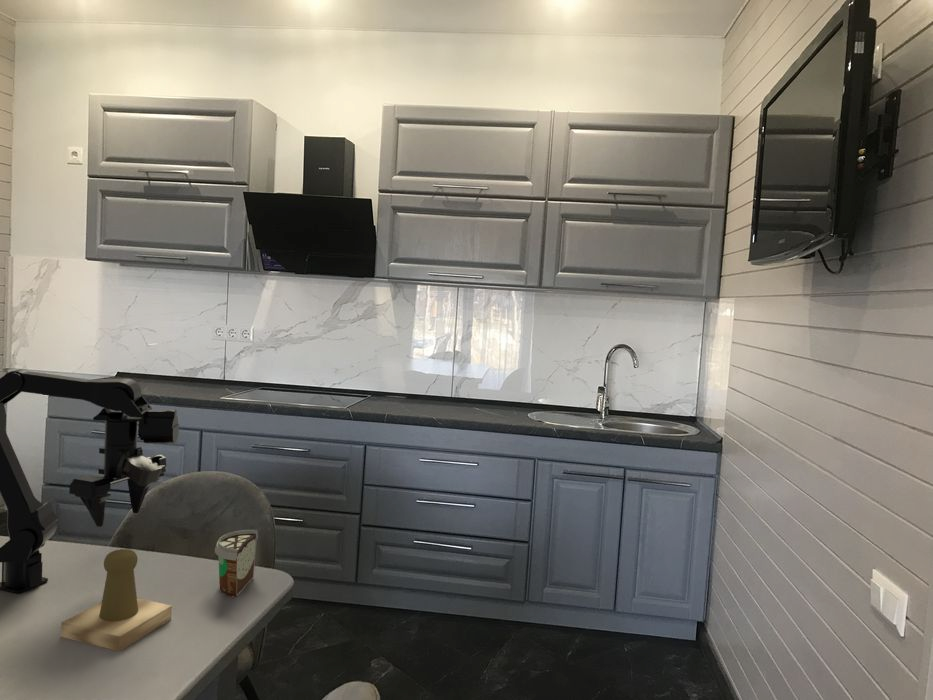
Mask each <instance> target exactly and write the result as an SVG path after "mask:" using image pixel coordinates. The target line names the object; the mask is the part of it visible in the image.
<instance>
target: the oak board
mask: <svg viewBox="0 0 933 700" xmlns="http://www.w3.org/2000/svg"><path fill="white" fill-rule="evenodd" d="M137 603H138V613H137V614H136V615H134V616H133V617H131V618H128V619H125V620H121V621H105V620H102V619H101V618H100V617H99V615H100V609H101V604H102V601H100V602H98V603H97V604H95V605H93V606H91V607H89V608H87V609H85V610H82V611H81V612H79V613H77V614H75V615H73V616H71V617H69V618H67V619H65V620H64V621H62V622H61V633H60V634H61V635H60V637H61V638H65V639H69V640H73V641H78V642H82V643H85V644H89V645H93V644H94V645H93V646H98V647H101V648H106V649H109V650H113V651H117V652H121V651H122V650H123V649H125V648H127V647H129V646H131V645H132V644H134V643H135V642H137V641H138V640H140V639H142V637H145V636H146V635H148V634H149V633H151V632H153V631H155V630H156V629H158V628H159V627H161V626H162V625H164V624H165V623H167V622H169V621H170V620H172V609H173V608H172V607H173V605H171V604H167V603H161V602H156V601H152V600H148V599H142V598H140V597H139V598H138V597H137ZM144 635H145V636H144ZM139 638H140V639H139ZM136 640H137V641H136ZM131 643H132V644H131ZM128 645H129V646H128ZM126 646H127V647H126Z"/></svg>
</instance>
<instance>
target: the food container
mask: <svg viewBox="0 0 933 700" xmlns="http://www.w3.org/2000/svg"><path fill="white" fill-rule="evenodd" d="M258 534H259V533H258V530H257V529H244V530H243V529H242V530H236V531H231V532H228V533H226V534H224V535H221V537H219V539H218V540H217V542H216V545H215V548H214V553H215V554H216V555H217V557H218V575H219V577H218V580H219V581H218V582H219V592H220V593H222V594H224V595H225V594H226V595H225V596H227V597H232V596H234V598H237V597H238V596H239V595H240V594H241V593H240V592H243V591H244V589H245V588H246V587H247V586H248V585H249V584H250V582H251V581H252V580H253V579H254V578H255V577H254V575H255V566H256V565H255V563H256V551H257V540H259V537H258V536H259V535H258ZM253 577H254V578H253ZM252 578H253V579H252ZM251 579H252V580H251ZM250 580H251V581H250ZM248 583H249V584H248ZM247 584H248V585H247ZM246 585H247V586H246ZM245 586H246V587H245ZM239 593H240V594H239ZM238 594H239V595H238Z"/></svg>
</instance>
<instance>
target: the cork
mask: <svg viewBox="0 0 933 700" xmlns="http://www.w3.org/2000/svg"><path fill="white" fill-rule="evenodd" d="M138 559H139V558H138V555H137V552H135V551H134V550H132V549H128V548H127V549H126V548H124V549H123V548H122V549H116V550H113V551H110V552H109V553H108V554H106V556H105V557H104V561H103V568H104V571H106V575H105V578H106V579H105V582H104V588H103V595H102V598H101V599H102V600H101V602H102V604H101V609H100V615H99V617H100V618H101V619H102V620H105V621H121V620H125V619H128V618H131V617H133V616H134V615H136V614H137V613H138V603H137V598H138V596H137V587H136V585H137V584H136V578H135V577H136V576H135V568H136V567H137V564H138V561H139V560H138Z"/></svg>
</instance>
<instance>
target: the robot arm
mask: <svg viewBox="0 0 933 700" xmlns="http://www.w3.org/2000/svg"><path fill="white" fill-rule="evenodd" d="M21 393H29V394H36V395H44V396H52V397H57V398H65V399H74V400H82V401H85V402H89V403H91V404H93V405H95V406H97V407H100V408H102V409H101V411H99V413H98V414H96V415H95V416H93V418H92V420H93V421H97V422H98V421H99V422H101V421H102V422H104V443H103V444H104V445H103V446H102V447H99V448H98V449H99V450H98V453H99V454H102V455H103V467H99V468H98V474H99V476H98V475H93V474H86V475H82V476H78V477H75V478H72V480H70V482H69V487H68V488H69V490H68V491H69V494H71V495H74V496H75V497H77V498H79V499H80V500H81V501H82V503H83V504H84V506H85V507H86V509H87V510H88V513H89V514H90V516H91V518H92V520H93V522H94V524H95V526H97V527H100V528H102V527H103V525H104V520H105V511H106V509H105V508H106V501H107V499H108V498H110V496H112V494H111V493H109V492H110V490H111V485H115V484H118V483H122V482H125V481H127V487H128V492H129V500H130V505H131V510H132V513H133V514H138V513H139V512H140V509H141V508H142V505H143V503H144V500H145V497H146V495H147V493H148V491H149V488H150V487H151V486H152V485H153V484H155V483H156V482H159V480H160V477H164V475H165V473H166V471H167V470H166V468H167V457H166V456H164V455H163V454H157V455H154V456H153V457H151V456H148V457H146V456H144V454H143V453H144V452H143V450H144V449H143V447H142V446H138V438H139V439H140V441H143V443H144V444H173V445H174V444H177V441H178V438H179V435H180V434H179V433H180V424H179V418H178V415H177V414H178V413H177V412H178V411H177V409H165V410H164V409H162V410H161V409H153V407H152V406H151V405H150V404H149V403H148V400H147V399H145V397H144V396H143V395H142V388H141V386H140V384H139V383H138V382H137V381H136V380H134V379H132V378H126V377H125V378H123V377H122V378H102V379H88V378H81V377H75V376H74V377H73V376H67V375H60V374H59V375H58V374H53V373H52V374H50V373H45V372H38V371H32V370H31V371H30V370H28V369H24V368H23V369H22V368H20V369H16V370H12V371H8V372H6V373H5V374H4V375H3V376H1V377H0V495H1V498H2V500H3V502H4V505H5V507H6V510H7V516H6V517H7V518H6V519H7V520H6V521H7V522H6V528H7V534H8V537H9V539H8V541H7V542H5V543H4V544H2V546H0V563H1V581H0V590H3V591H6V592H9V593H10V592H11V593H15V594H20V593H23V592H26V591H27V590H28V591H29V590H31V589H33V588H36V587H37V586H39V585H43V584H44V583H47V582H48V581H49V578H48V577H44V576H43V560H42V553H41V552H40V550H39V549H41V548H42V547H44V546H45V545H46V542H47V541H49V539H51V538H52V537H53V536H54V534H55V533H56V531H57V527H58V524H57V521H58V520H59V517H58V516H57V515H56V513H55V511H54V510H53V509H54V508H53V505H52V502H51V501H47V502H45V503H42V502H41V501H39V500H38V499H37V498H36V497H35V495H34V493H33V490H32V489H31V486H30V483H29V482H28V479H27V477H26V474H25V472H24V470H23V468H22V465H21V464H20V461H19V458H18V456H17V454H16V451H15V450H14V448H13V445H12V443H11V440H10V438H9V436H8V433H7V412H6V408H5V406H6V404H7V403H9V402H10V401H12V400H14V399H15V398H16V397H17V396H19V394H21ZM100 475H103V476H100Z"/></svg>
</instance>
